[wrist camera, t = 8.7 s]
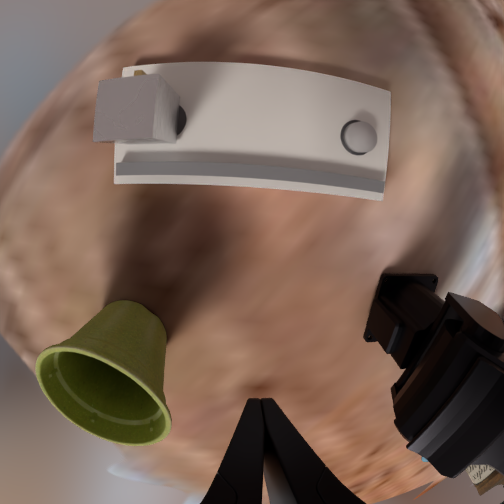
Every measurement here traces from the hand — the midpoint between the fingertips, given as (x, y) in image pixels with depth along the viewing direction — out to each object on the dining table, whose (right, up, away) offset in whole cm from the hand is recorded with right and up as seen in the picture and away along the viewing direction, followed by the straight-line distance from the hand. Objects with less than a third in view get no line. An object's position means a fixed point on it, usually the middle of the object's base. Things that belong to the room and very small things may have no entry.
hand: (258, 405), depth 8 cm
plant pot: (-10, -1, +13) cm, 16 cm away
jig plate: (0, +13, +8) cm, 16 cm away
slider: (-6, +13, +6) cm, 16 cm away
